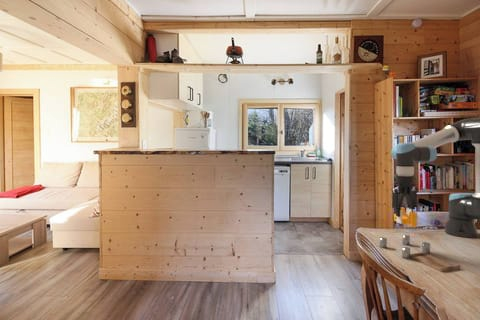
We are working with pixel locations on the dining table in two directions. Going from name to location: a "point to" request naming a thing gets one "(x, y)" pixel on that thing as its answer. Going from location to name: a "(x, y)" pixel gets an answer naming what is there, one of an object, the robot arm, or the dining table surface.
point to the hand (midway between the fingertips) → (404, 222)
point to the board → (433, 262)
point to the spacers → (405, 249)
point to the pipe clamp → (408, 218)
